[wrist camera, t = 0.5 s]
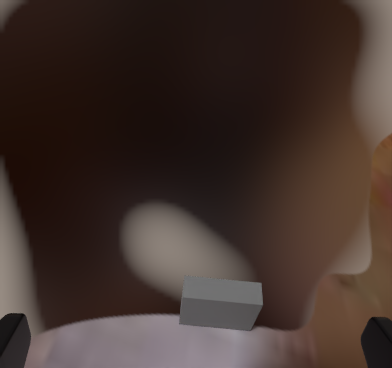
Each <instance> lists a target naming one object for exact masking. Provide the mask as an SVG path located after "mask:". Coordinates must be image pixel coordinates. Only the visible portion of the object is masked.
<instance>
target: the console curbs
mask: <svg viewBox="0 0 392 368" xmlns="http://www.w3.org/2000/svg"><path fill="white" fill-rule="evenodd" d="M262 306H263V299H262V287H261V283H254V282H245V281H235V280H224V279H215V278H204V277H194V276H185V277H184V285H183V293H182V301H181V310H180V321H179V324H183V325H194V326H204V327H215V328H225V329H236V330H246V331H250V330H251V328H252V326H253V324H254V322H255V320H256V318H257V316H258V314H259V312H260V310H261V308H262Z"/></svg>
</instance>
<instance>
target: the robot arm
mask: <svg viewBox="0 0 392 368" xmlns="http://www.w3.org/2000/svg"><path fill="white" fill-rule="evenodd" d="M30 341H31V333H30V329H29V325H28V322H27V318H26V316H25V314H22V313H10V314H7V315H5V316H4V317H3V318H2V319H1V320H0V368H24V365H25V361H26V357H27V353H28V350H29V346H30ZM361 345H362V349H363V352H364V355H365V359H366V362H367V366H368V368H392V321H391V320H390V319H388V318H386V317H372V318H370V319H369V321H368V323H367V325H366V327H365V329H364V331H363V333H362V335H361Z"/></svg>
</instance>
